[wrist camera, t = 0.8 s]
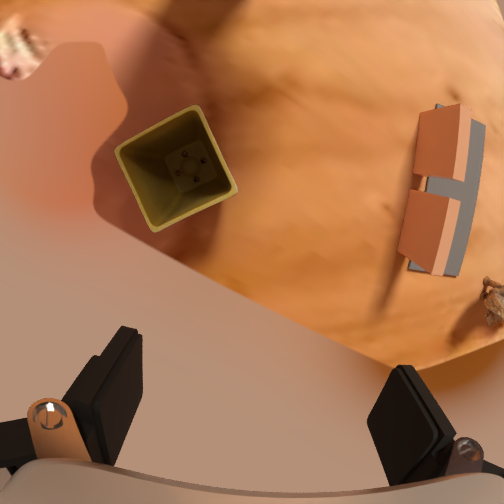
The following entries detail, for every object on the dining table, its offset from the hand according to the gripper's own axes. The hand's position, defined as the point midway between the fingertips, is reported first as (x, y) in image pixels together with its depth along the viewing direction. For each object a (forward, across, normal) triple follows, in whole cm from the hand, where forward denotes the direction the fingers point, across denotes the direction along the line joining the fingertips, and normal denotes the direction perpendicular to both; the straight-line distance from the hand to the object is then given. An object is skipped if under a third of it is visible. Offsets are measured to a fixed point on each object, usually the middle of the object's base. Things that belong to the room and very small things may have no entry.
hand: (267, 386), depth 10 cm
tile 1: (+27, -19, -4) cm, 33 cm away
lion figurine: (+27, -39, +3) cm, 48 cm away
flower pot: (+27, +8, -6) cm, 29 cm away
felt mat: (+27, -24, -10) cm, 38 cm away
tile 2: (+27, -18, -14) cm, 36 cm away
